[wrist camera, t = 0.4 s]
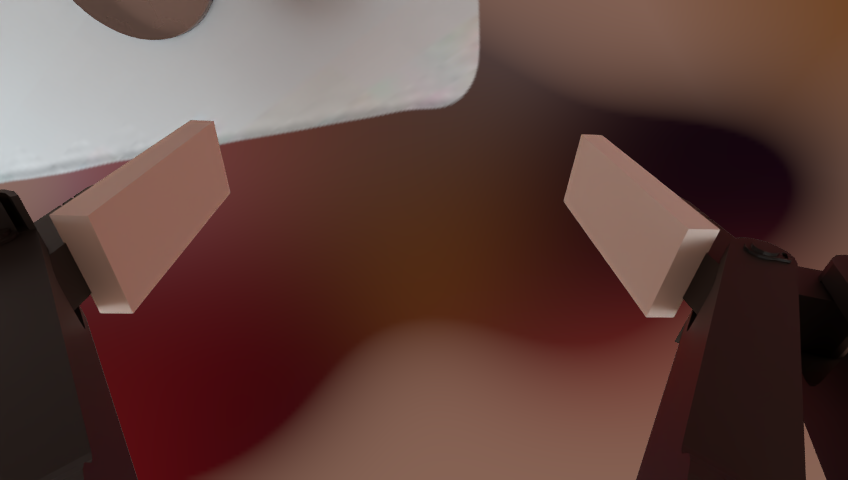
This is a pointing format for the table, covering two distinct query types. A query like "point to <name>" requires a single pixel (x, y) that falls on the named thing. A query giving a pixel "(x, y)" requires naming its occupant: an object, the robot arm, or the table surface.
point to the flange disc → (147, 16)
